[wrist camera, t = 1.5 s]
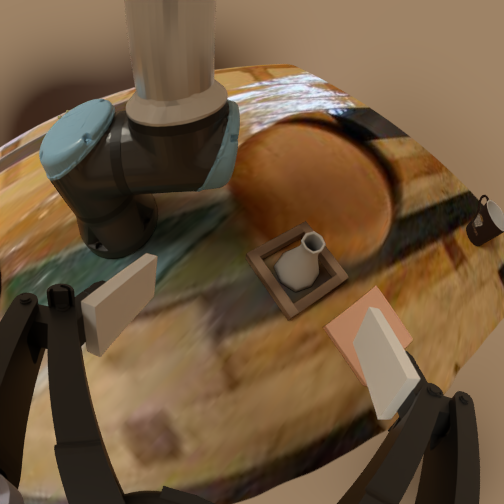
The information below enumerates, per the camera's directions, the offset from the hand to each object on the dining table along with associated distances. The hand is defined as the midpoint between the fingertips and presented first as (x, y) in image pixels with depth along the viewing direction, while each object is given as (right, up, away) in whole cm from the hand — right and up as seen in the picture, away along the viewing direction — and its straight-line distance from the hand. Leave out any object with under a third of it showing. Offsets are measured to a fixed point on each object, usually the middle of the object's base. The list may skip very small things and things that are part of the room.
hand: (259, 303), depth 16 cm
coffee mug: (+57, +8, +38) cm, 69 cm away
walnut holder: (+7, 0, +29) cm, 30 cm away
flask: (+7, 0, +29) cm, 30 cm away
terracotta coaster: (+19, -11, +25) cm, 33 cm away
